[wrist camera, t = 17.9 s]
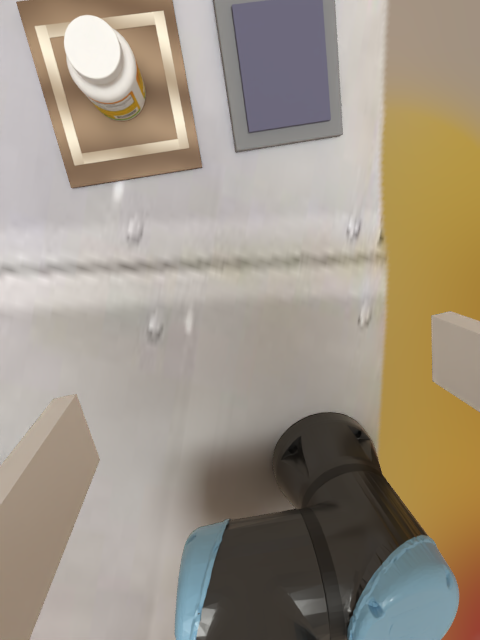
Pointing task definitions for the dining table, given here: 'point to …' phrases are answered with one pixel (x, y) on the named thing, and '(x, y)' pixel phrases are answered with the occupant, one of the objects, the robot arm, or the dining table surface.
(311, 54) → the ink pad
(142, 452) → the dining table surface
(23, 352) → the dining table surface
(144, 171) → the marking board
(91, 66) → the supplement bottle
